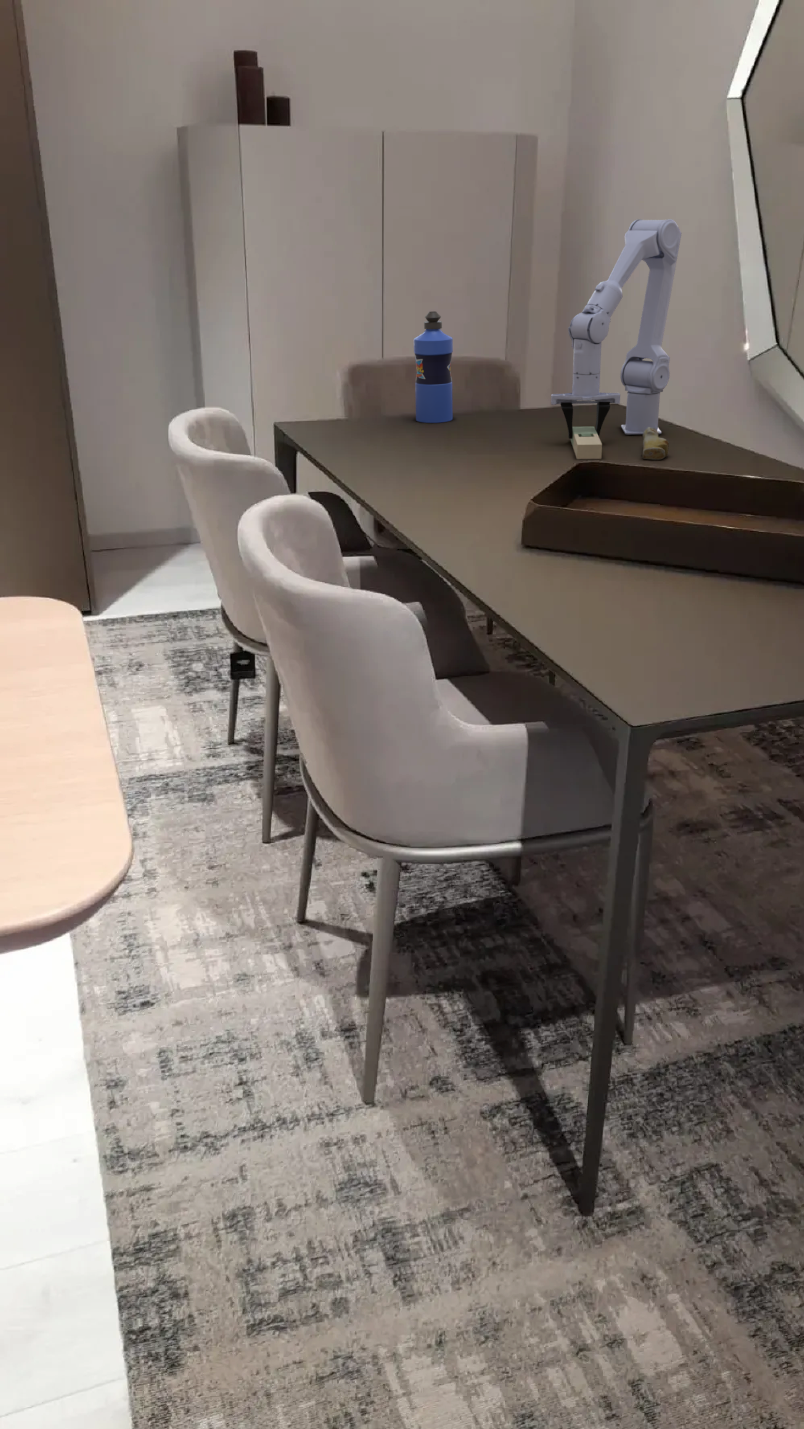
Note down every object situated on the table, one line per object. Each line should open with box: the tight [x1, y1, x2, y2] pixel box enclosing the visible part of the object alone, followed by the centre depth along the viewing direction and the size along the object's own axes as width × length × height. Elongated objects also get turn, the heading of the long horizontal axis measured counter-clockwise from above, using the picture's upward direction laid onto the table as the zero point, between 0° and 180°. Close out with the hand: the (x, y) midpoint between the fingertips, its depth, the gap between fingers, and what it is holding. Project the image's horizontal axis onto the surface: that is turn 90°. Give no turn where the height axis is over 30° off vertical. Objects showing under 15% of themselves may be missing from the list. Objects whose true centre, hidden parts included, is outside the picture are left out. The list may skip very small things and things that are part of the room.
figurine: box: [641, 427, 670, 461], centre depth 229 cm, size 5×5×15 cm
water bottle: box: [413, 310, 454, 424], centre depth 266 cm, size 9×9×25 cm
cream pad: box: [572, 434, 603, 460], centre depth 230 cm, size 11×5×3 cm, turn 176°
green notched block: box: [570, 426, 597, 446], centre depth 238 cm, size 10×5×3 cm, turn 176°
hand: (583, 437), depth 239 cm, fingers closed on green notched block, 5 cm apart
